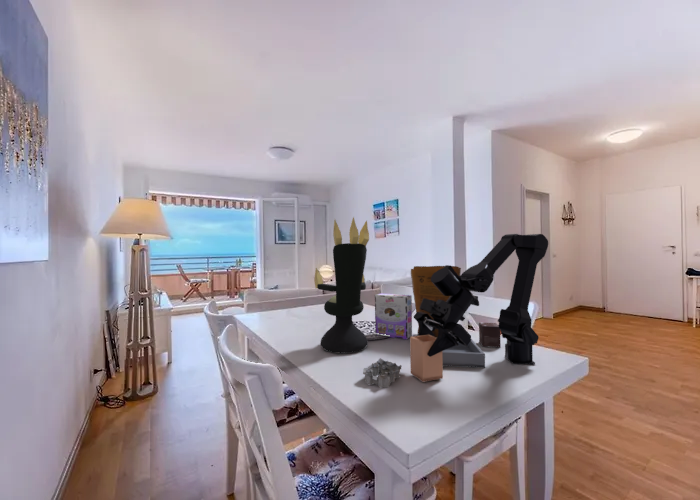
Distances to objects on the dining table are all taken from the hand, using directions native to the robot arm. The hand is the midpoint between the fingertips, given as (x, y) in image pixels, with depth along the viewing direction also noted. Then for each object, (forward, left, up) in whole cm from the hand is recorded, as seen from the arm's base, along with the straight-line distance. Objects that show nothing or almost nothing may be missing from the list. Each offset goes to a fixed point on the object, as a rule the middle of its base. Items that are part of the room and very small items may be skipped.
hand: (421, 351), depth 83 cm
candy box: (+7, -41, -7) cm, 42 cm away
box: (-27, -33, -7) cm, 43 cm away
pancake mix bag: (-9, -41, -7) cm, 42 cm away
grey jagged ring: (+10, +1, -7) cm, 13 cm away
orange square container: (-1, -1, -7) cm, 7 cm away
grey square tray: (-11, -18, -7) cm, 22 cm away
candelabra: (+23, -23, -7) cm, 33 cm away
